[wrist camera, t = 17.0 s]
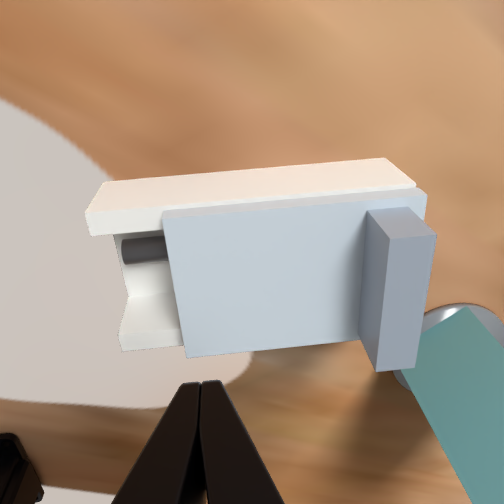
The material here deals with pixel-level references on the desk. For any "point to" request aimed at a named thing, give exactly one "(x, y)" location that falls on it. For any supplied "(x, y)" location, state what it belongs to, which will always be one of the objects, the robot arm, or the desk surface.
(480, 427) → the teal box
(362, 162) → the white channel beam
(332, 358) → the desk surface
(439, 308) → the coaster
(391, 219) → the cover
